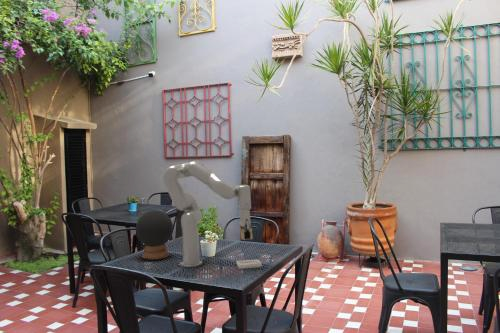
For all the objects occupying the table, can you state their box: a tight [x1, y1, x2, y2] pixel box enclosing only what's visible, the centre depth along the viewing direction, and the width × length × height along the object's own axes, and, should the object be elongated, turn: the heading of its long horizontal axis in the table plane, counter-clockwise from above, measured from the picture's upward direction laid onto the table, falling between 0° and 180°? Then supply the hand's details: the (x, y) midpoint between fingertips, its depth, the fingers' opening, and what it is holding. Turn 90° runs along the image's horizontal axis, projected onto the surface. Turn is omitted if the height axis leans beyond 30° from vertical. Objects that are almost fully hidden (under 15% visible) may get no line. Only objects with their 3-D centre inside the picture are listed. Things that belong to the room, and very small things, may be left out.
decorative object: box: [135, 209, 174, 261], centre depth 282 cm, size 23×23×30 cm
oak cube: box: [239, 226, 253, 241], centre depth 255 cm, size 6×6×6 cm
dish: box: [235, 259, 263, 270], centre depth 255 cm, size 10×13×2 cm
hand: (246, 237), depth 255 cm, fingers closed on oak cube, 6 cm apart
